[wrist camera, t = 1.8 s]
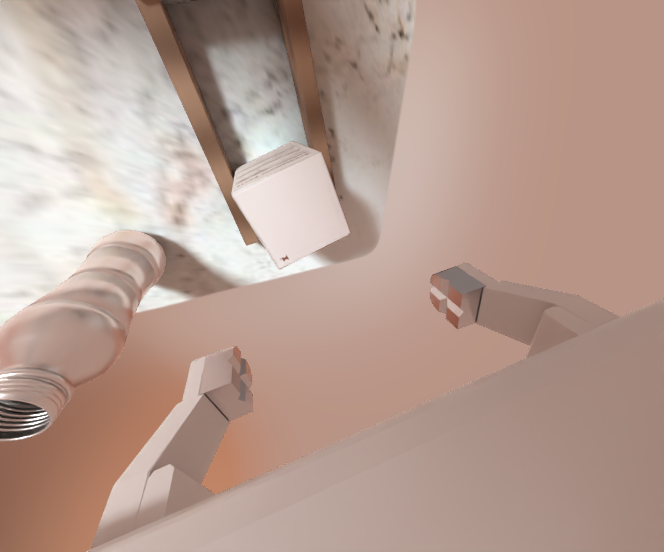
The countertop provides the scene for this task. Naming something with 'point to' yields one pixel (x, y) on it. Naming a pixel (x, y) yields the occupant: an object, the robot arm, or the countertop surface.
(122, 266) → the plastic bottle
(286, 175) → the supplement box
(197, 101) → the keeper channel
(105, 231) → the countertop surface
